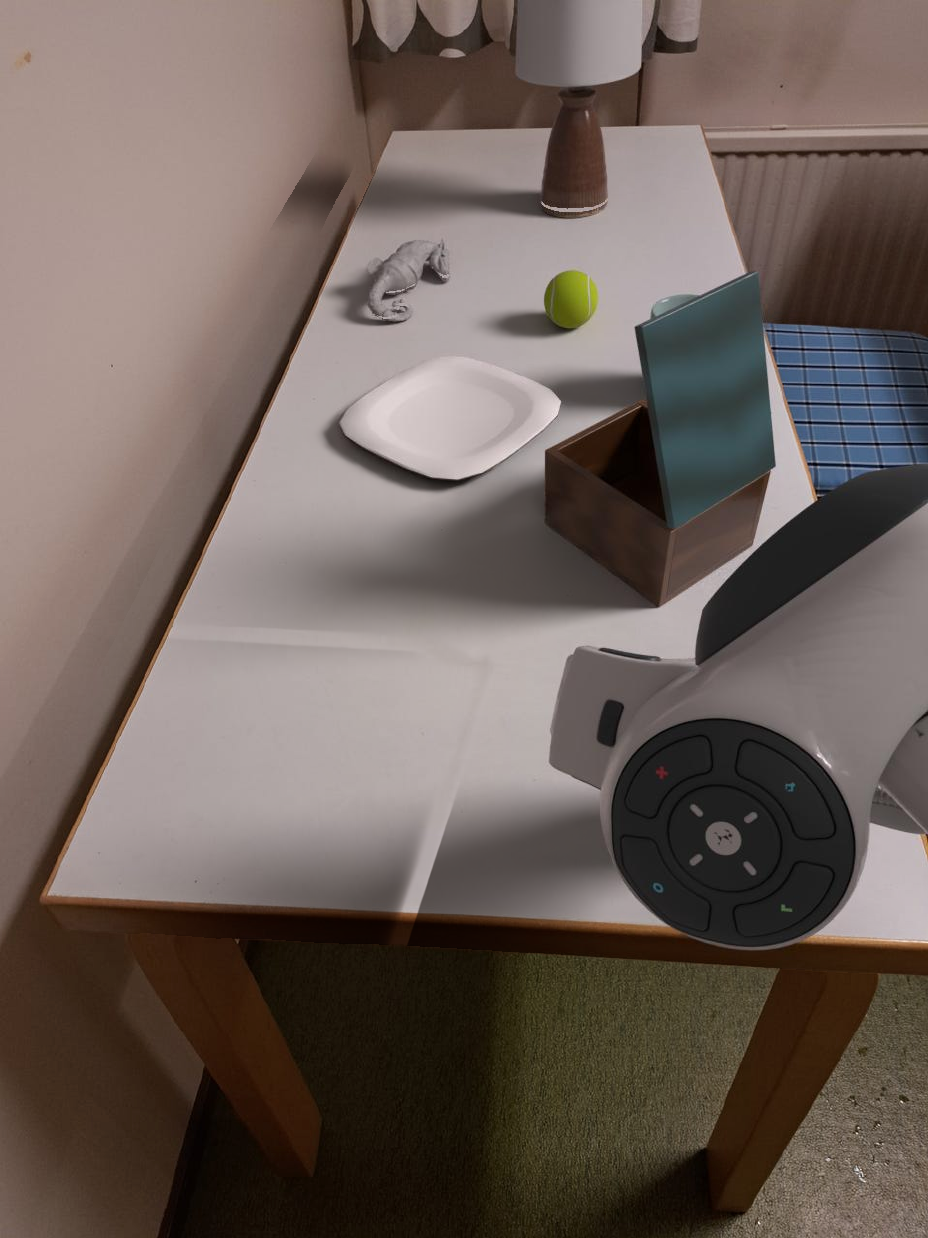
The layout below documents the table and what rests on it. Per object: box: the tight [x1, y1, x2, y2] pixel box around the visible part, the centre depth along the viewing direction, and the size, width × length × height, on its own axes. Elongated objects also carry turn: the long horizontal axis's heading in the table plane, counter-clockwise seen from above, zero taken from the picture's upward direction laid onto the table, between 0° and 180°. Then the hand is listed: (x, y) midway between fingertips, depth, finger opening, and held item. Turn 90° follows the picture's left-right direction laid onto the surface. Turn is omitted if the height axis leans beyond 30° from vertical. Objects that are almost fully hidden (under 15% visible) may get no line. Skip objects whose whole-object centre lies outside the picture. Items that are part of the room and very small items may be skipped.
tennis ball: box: [543, 269, 599, 329], centre depth 109 cm, size 7×7×7 cm
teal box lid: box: [634, 270, 777, 529], centre depth 66 cm, size 16×13×1 cm
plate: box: [339, 355, 562, 482], centre depth 96 cm, size 22×22×2 cm
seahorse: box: [365, 238, 451, 323], centre depth 119 cm, size 5×12×20 cm
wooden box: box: [544, 399, 772, 608], centre depth 78 cm, size 16×13×9 cm
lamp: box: [514, 0, 643, 219], centre depth 125 cm, size 19×19×37 cm
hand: (739, 720), depth 52 cm, fingers closed on pill bottle, 6 cm apart
